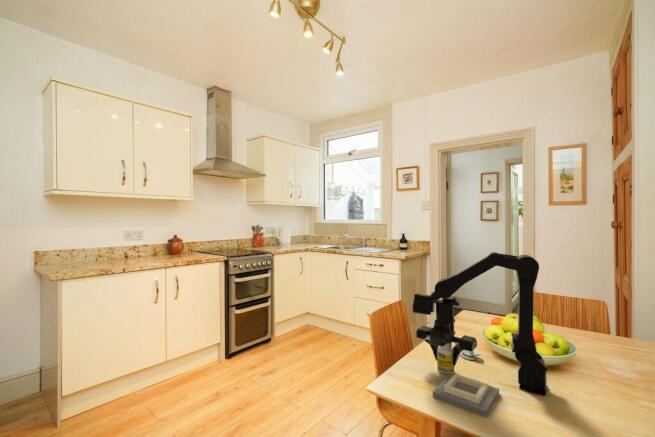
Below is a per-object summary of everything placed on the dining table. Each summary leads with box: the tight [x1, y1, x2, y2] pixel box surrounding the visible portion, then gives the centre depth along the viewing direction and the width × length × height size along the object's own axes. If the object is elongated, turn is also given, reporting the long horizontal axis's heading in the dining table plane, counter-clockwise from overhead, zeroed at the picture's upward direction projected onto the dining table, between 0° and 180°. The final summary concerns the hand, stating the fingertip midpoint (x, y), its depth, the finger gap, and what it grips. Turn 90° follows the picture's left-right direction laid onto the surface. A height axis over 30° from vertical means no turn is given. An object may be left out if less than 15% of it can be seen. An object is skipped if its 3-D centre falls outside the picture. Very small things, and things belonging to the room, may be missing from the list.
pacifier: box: [459, 349, 482, 361], centre depth 114 cm, size 7×6×6 cm
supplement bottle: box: [436, 342, 455, 375], centre depth 103 cm, size 5×5×10 cm
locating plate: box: [432, 373, 500, 418], centre depth 88 cm, size 14×14×3 cm
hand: (445, 363), depth 103 cm, fingers closed on supplement bottle, 5 cm apart
